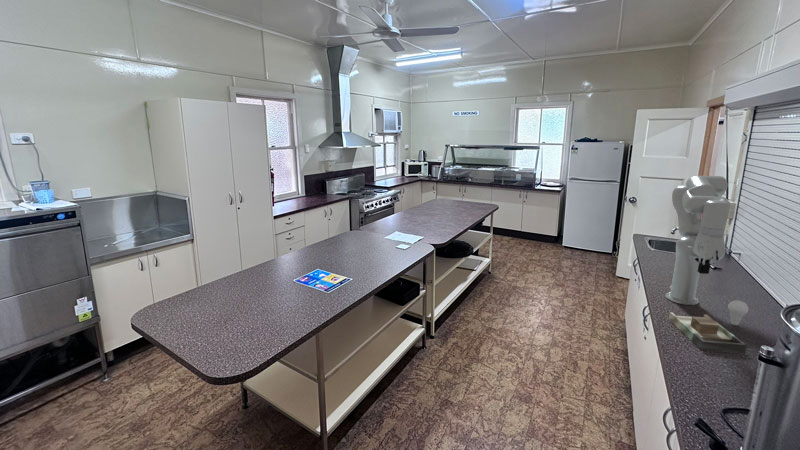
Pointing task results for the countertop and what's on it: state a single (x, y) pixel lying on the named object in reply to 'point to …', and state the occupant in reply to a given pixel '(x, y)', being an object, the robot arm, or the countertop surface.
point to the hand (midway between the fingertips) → (702, 272)
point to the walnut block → (704, 325)
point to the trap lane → (709, 336)
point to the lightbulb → (737, 311)
